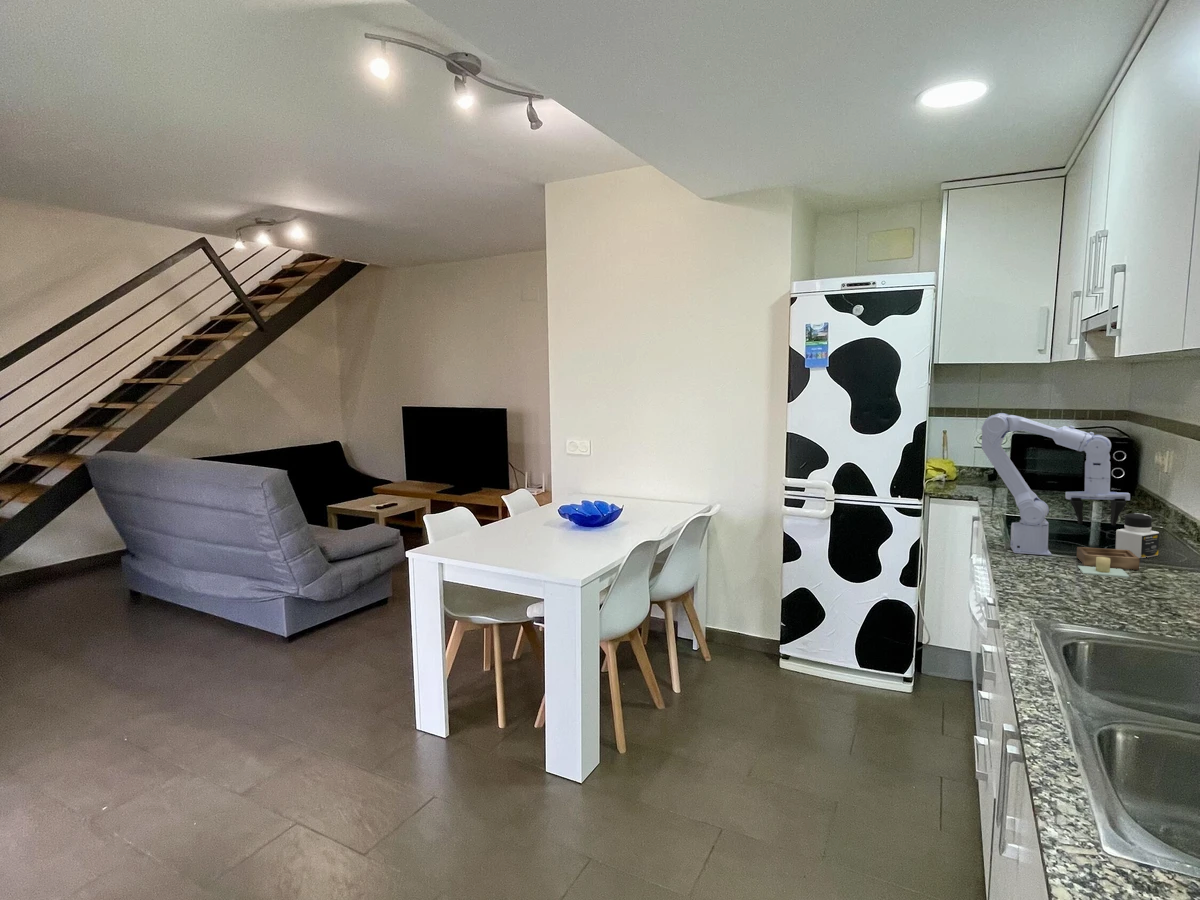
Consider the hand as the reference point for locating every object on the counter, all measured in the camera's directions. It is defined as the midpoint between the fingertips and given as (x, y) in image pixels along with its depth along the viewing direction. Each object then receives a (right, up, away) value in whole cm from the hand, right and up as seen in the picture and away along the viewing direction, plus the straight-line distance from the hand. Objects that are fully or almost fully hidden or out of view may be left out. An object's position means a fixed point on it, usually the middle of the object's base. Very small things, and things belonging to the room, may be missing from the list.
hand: (1096, 524), depth 180 cm
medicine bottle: (+15, -10, +4) cm, 18 cm away
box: (0, -11, -4) cm, 11 cm away
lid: (-7, -12, -10) cm, 18 cm away
